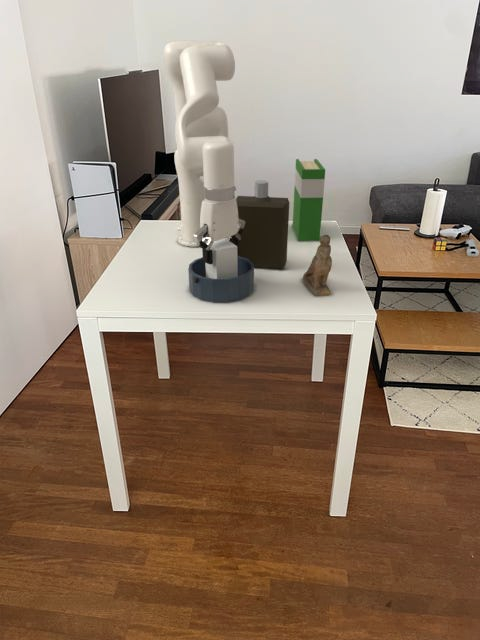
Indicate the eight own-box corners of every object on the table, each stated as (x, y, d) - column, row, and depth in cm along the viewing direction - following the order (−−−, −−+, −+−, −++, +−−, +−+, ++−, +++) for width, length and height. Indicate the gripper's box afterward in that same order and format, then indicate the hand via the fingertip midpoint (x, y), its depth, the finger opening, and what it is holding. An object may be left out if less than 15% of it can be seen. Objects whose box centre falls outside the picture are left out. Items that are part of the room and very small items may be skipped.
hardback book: (292, 224, 180) (295, 159, 168) (312, 224, 180) (316, 159, 168) (298, 241, 164) (302, 169, 152) (319, 240, 164) (325, 169, 152)
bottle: (284, 270, 142) (288, 186, 130) (232, 267, 144) (231, 184, 132) (287, 260, 149) (291, 179, 136) (236, 257, 151) (236, 177, 139)
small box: (238, 291, 130) (238, 246, 123) (217, 296, 127) (215, 250, 121) (226, 280, 136) (225, 237, 130) (205, 284, 134) (203, 240, 127)
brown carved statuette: (329, 302, 129) (341, 246, 117) (309, 303, 129) (319, 246, 117) (319, 276, 138) (329, 221, 126) (301, 277, 137) (309, 222, 125)
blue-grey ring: (174, 289, 131) (172, 267, 128) (225, 269, 143) (225, 248, 140) (217, 310, 120) (216, 287, 117) (269, 286, 132) (269, 265, 129)
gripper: (233, 185, 126) (234, 246, 135) (183, 197, 116) (187, 263, 124) (254, 190, 122) (253, 253, 130) (203, 203, 111) (206, 270, 119)
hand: (221, 258), depth 127 cm, fingers open, 9 cm apart
